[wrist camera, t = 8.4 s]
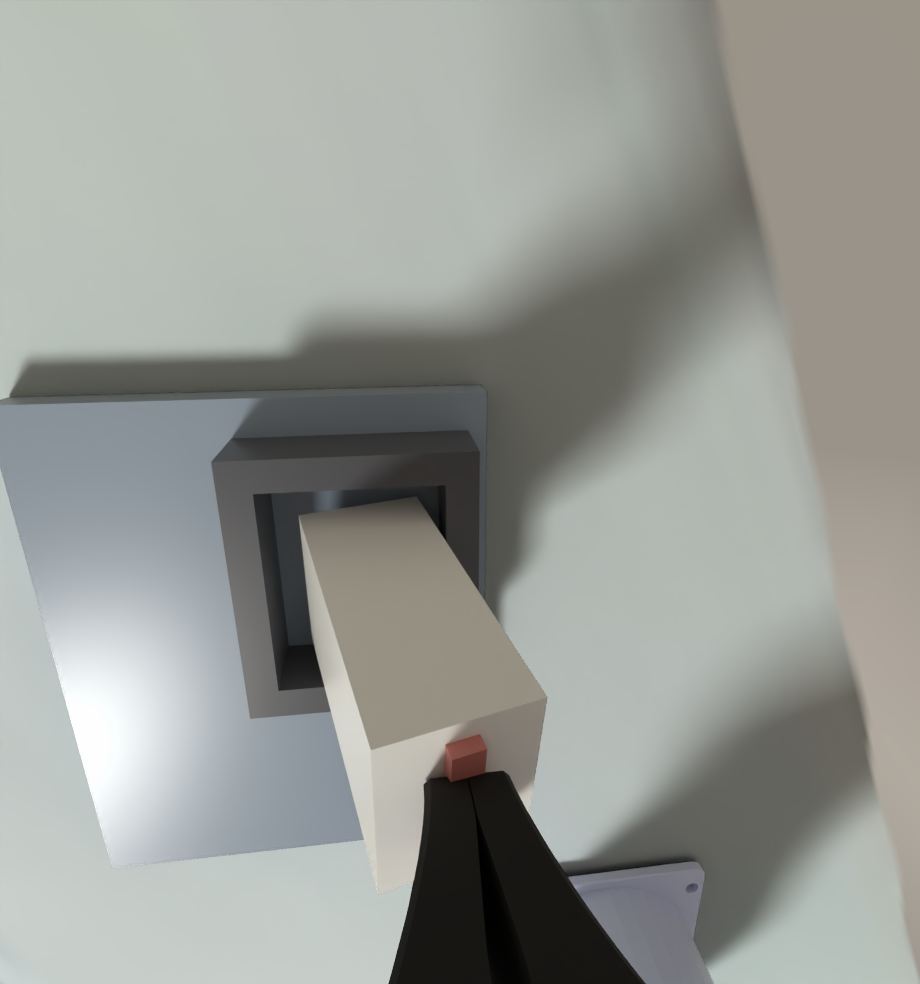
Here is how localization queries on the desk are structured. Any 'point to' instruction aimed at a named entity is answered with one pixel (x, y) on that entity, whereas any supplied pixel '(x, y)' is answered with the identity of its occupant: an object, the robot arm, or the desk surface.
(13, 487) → the board
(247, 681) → the frame
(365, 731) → the plug
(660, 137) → the desk surface
